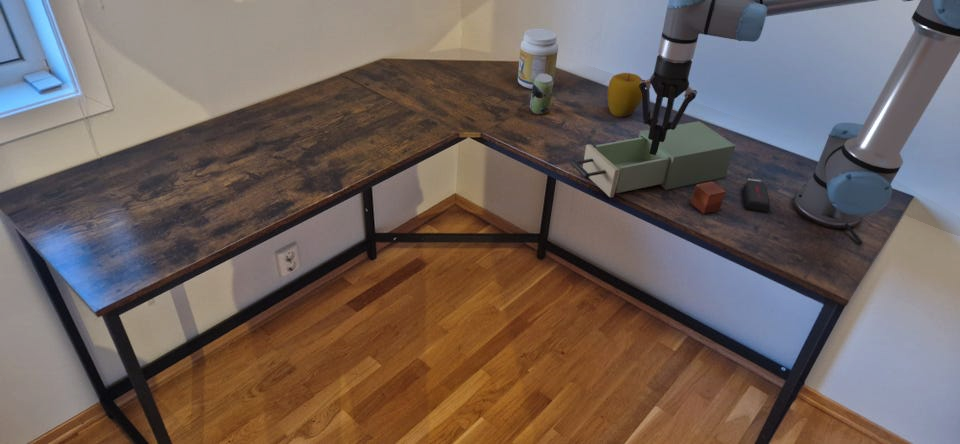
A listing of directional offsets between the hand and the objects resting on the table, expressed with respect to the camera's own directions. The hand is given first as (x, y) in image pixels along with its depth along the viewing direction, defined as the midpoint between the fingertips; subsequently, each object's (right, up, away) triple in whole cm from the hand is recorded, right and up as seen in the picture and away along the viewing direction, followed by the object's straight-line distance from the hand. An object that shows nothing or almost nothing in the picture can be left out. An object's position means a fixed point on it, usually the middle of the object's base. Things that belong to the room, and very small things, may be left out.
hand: (653, 151), depth 156 cm
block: (+14, -13, +6) cm, 20 cm away
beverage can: (-23, +17, +45) cm, 53 cm away
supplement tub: (-23, +30, +63) cm, 73 cm away
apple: (+2, +17, +47) cm, 50 cm away
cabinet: (+12, -3, +20) cm, 24 cm away
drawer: (-6, -6, +12) cm, 15 cm away
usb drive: (+28, -11, +10) cm, 32 cm away
